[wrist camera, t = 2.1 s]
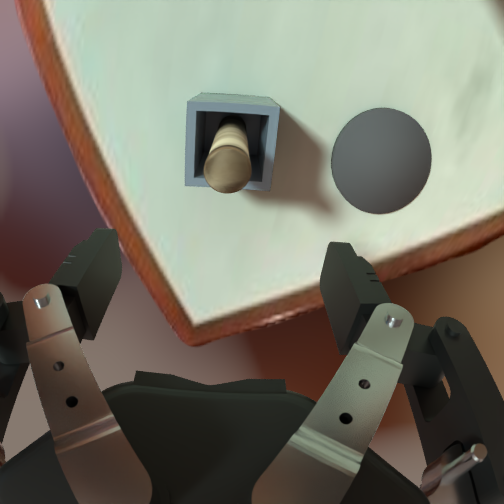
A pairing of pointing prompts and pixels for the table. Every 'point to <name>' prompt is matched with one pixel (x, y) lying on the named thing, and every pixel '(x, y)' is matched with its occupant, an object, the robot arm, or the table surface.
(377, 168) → the gray disc
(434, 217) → the table surface
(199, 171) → the deep cup
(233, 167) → the beech dowel
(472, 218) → the table surface
